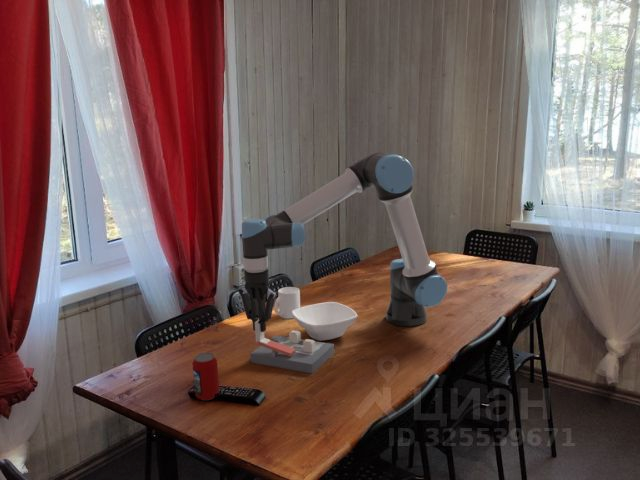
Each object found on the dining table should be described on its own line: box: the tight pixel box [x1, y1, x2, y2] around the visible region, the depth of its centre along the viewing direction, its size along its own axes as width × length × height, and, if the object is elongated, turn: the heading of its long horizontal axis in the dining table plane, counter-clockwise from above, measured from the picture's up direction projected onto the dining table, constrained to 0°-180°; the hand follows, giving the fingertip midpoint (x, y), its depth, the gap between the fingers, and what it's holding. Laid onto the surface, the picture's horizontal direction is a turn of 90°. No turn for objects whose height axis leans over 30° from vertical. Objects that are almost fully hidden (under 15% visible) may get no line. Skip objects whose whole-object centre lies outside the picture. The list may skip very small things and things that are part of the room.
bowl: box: [292, 301, 358, 342], centre depth 199 cm, size 21×21×9 cm
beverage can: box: [192, 352, 220, 401], centre depth 159 cm, size 7×7×12 cm
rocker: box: [256, 337, 296, 356], centre depth 179 cm, size 12×4×1 cm, turn 65°
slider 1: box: [288, 330, 302, 343], centre depth 187 cm, size 3×2×3 cm
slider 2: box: [303, 338, 316, 353], centre depth 179 cm, size 3×2×3 cm
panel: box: [249, 334, 335, 374], centre depth 182 cm, size 22×16×4 cm
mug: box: [273, 286, 301, 320], centre depth 218 cm, size 12×8×10 cm
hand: (260, 340), depth 181 cm, fingers closed
